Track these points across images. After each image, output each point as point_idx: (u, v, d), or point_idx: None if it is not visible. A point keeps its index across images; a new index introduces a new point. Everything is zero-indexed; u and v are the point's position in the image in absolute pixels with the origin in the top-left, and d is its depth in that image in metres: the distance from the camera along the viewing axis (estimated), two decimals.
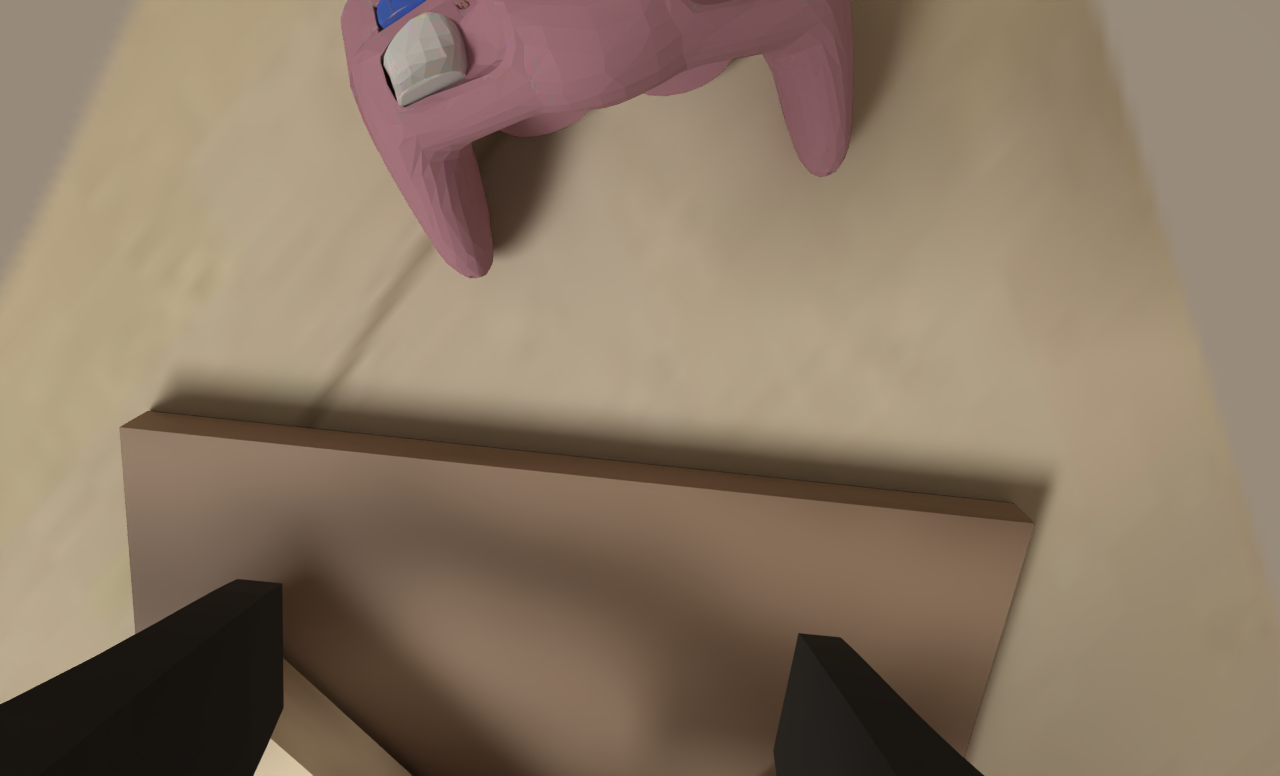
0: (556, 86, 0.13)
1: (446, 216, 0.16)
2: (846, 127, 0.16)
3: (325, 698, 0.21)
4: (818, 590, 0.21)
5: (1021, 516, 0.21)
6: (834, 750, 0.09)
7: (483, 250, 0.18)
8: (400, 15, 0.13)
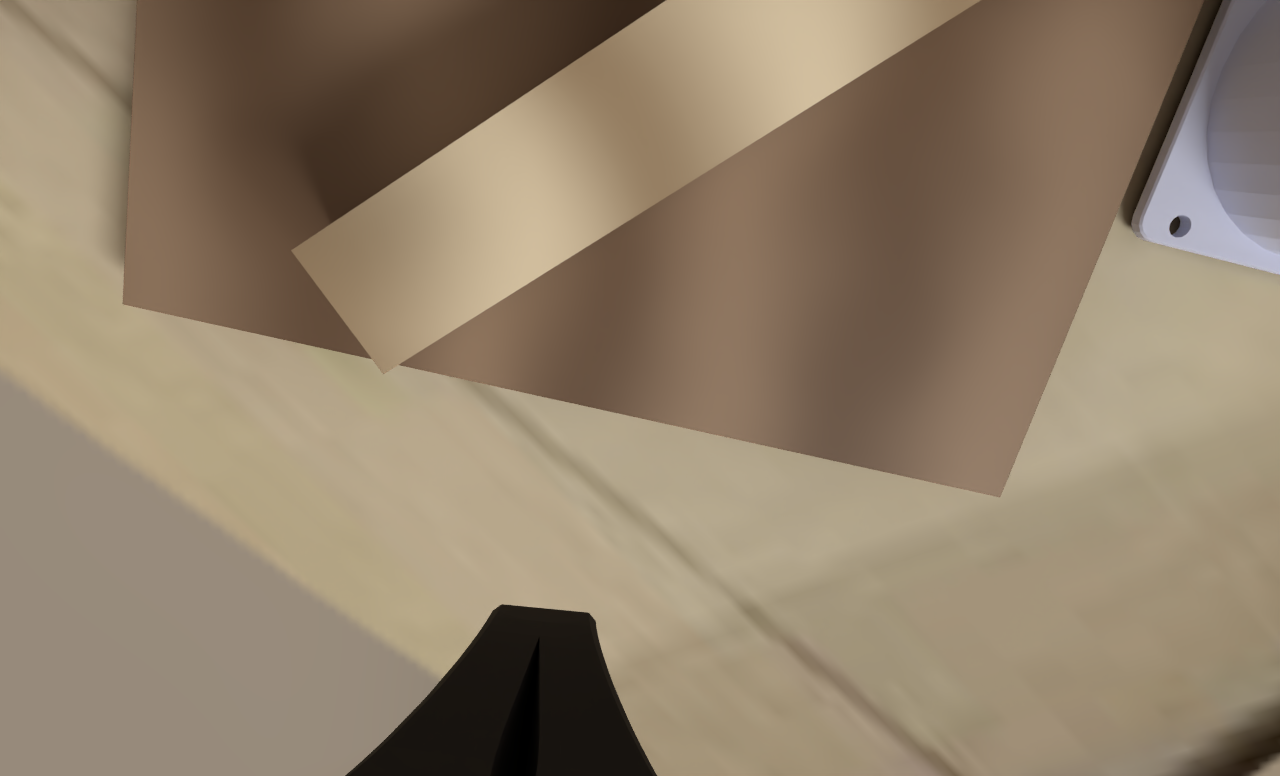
0: None
1: None
2: None
3: None
4: None
5: None
6: (534, 724, 0.09)
7: None
8: None
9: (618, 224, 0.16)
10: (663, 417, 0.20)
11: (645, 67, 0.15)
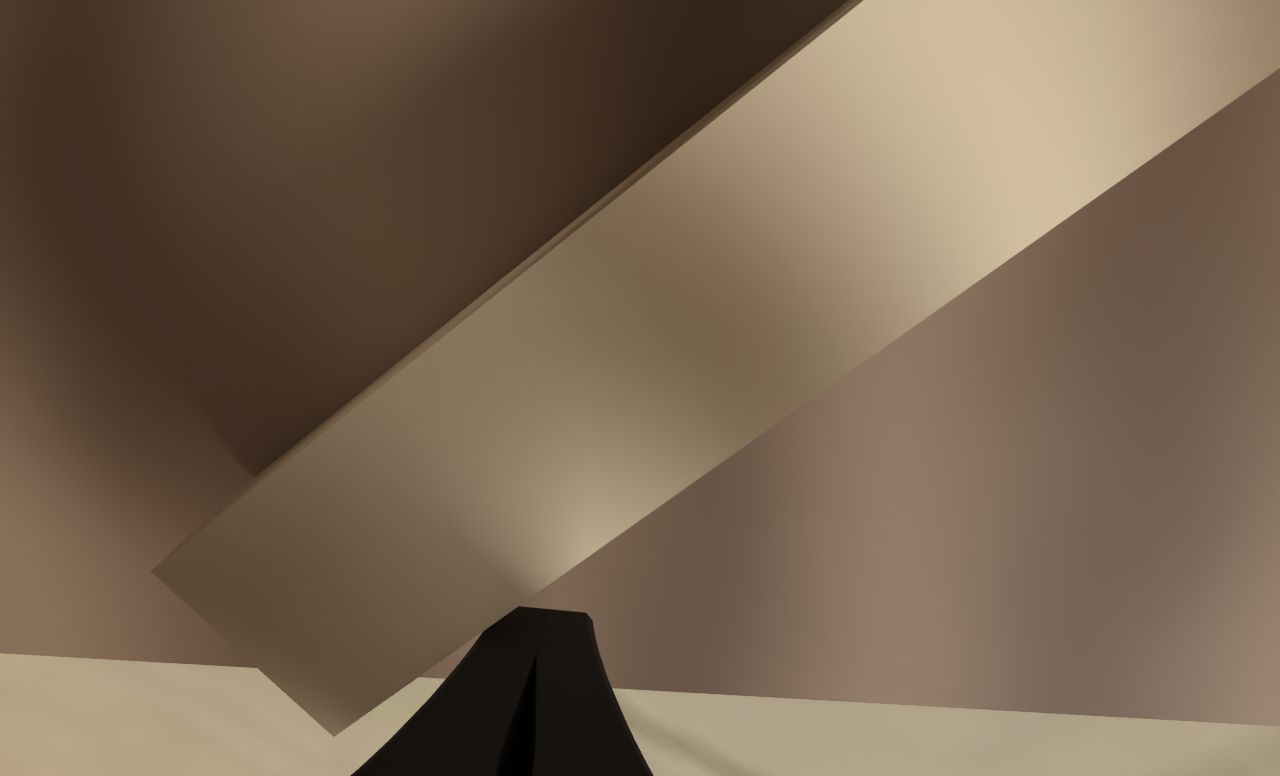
0: None
1: None
2: None
3: (410, 352, 0.11)
4: None
5: None
6: (531, 724, 0.09)
7: None
8: None
9: (701, 471, 0.09)
10: (810, 691, 0.13)
11: (728, 206, 0.08)
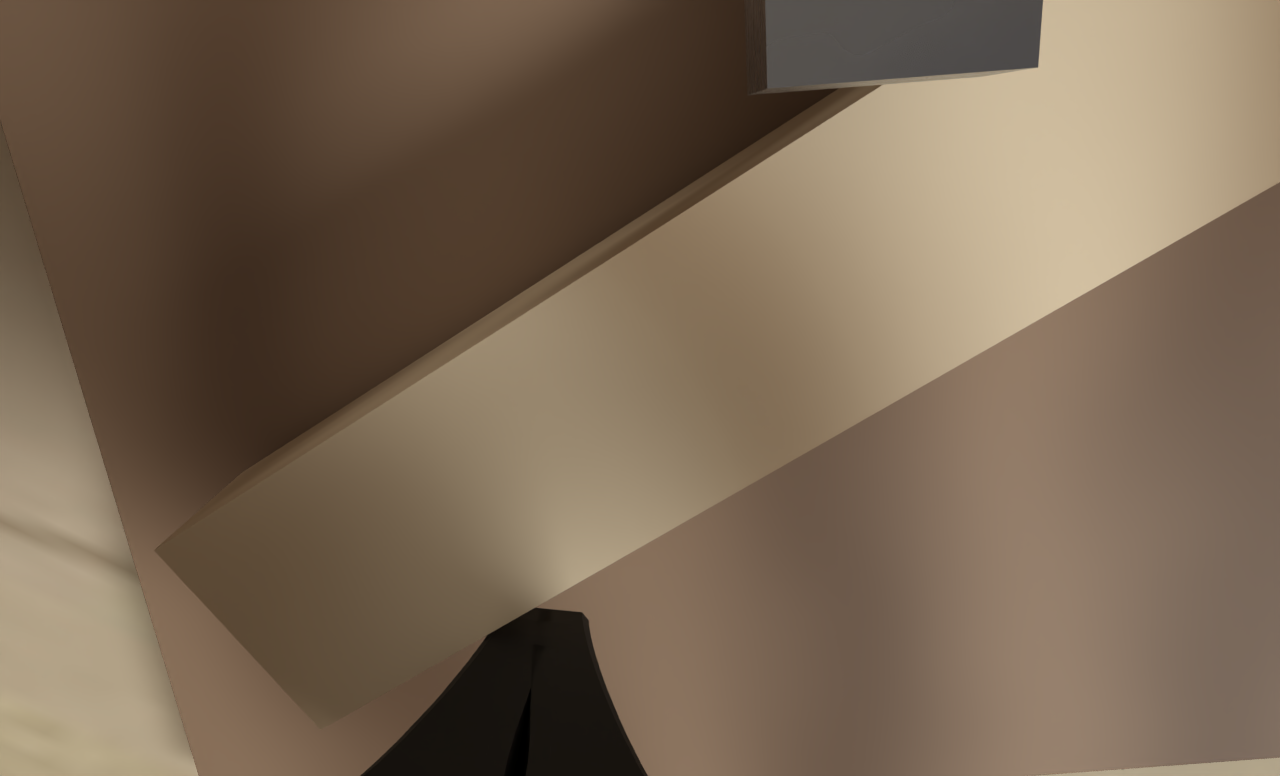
0: None
1: None
2: None
3: (431, 351, 0.11)
4: None
5: None
6: None
7: None
8: None
9: (717, 499, 0.09)
10: (970, 772, 0.14)
11: (771, 244, 0.08)
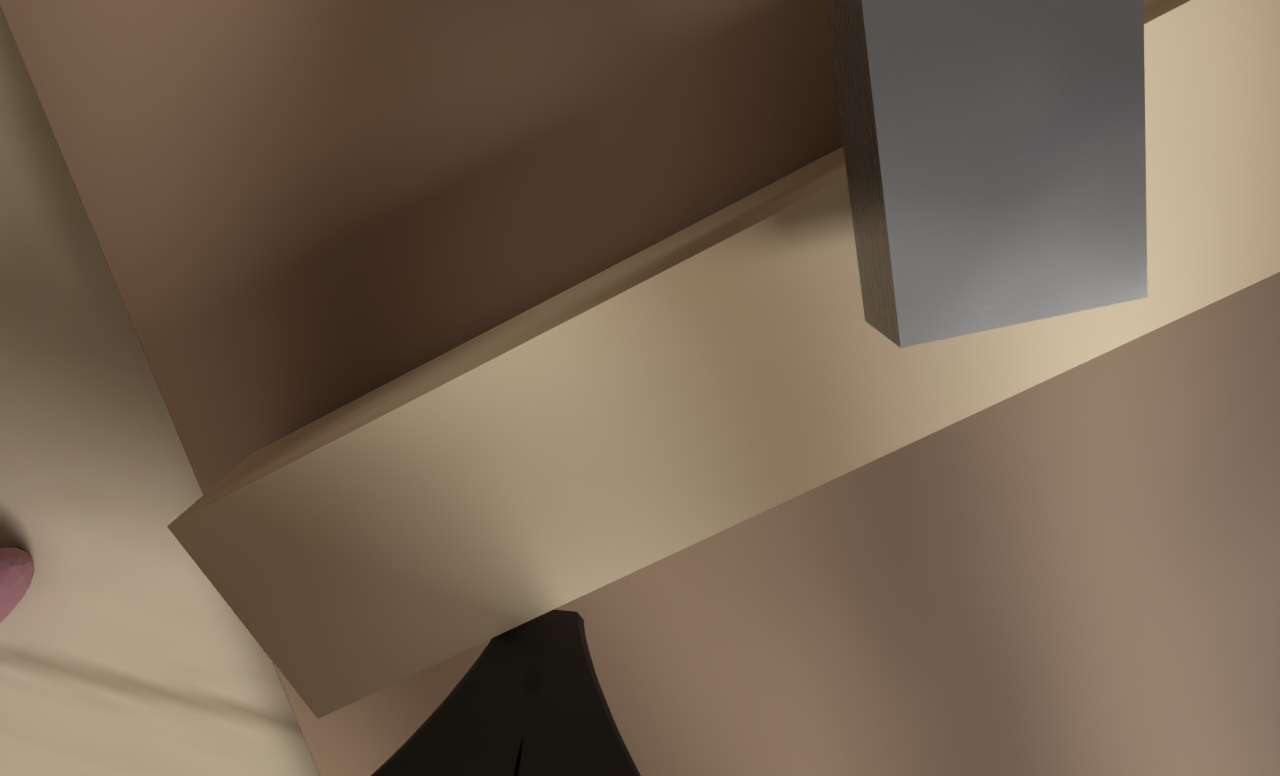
0: None
1: None
2: None
3: (458, 346, 0.11)
4: None
5: None
6: None
7: None
8: None
9: (737, 519, 0.09)
10: None
11: (817, 274, 0.08)
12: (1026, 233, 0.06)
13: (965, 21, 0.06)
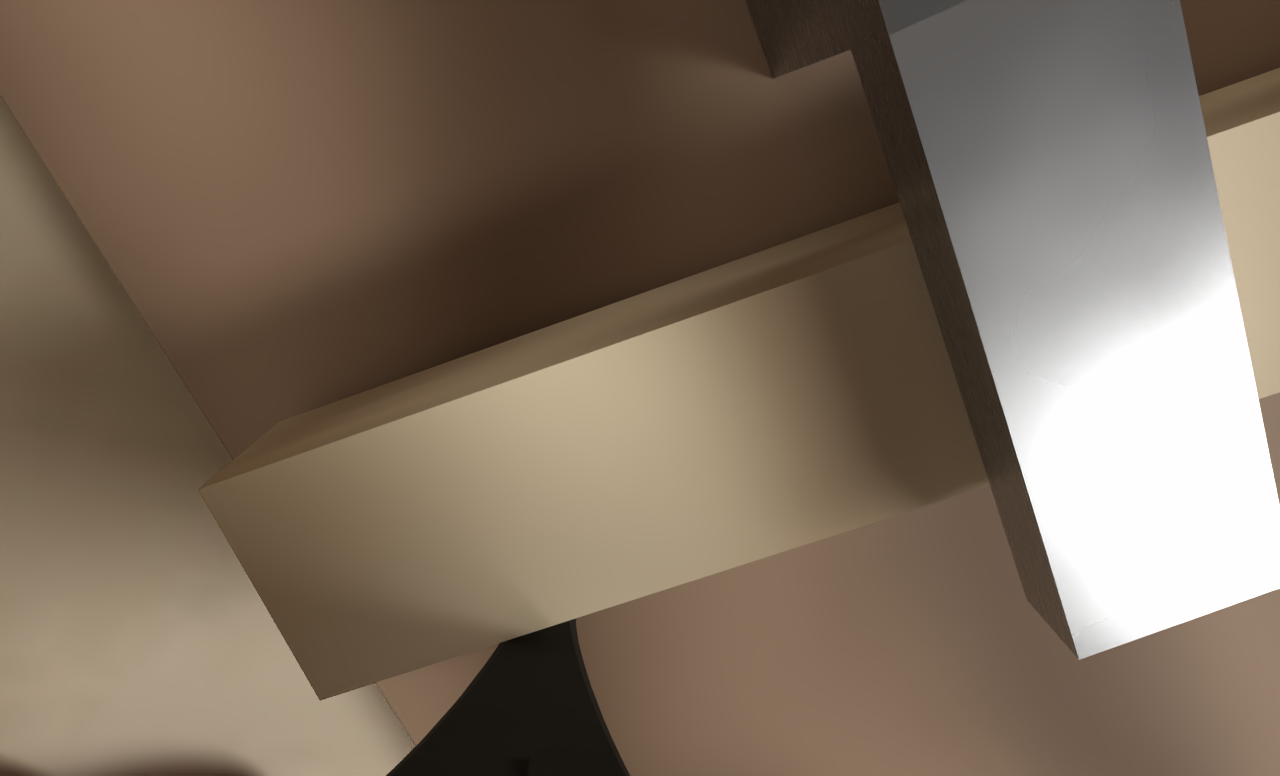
0: None
1: None
2: None
3: (504, 343, 0.11)
4: (297, 225, 0.11)
5: None
6: None
7: None
8: None
9: (771, 551, 0.09)
10: None
11: (888, 322, 0.08)
12: (1177, 555, 0.07)
13: (1095, 413, 0.07)
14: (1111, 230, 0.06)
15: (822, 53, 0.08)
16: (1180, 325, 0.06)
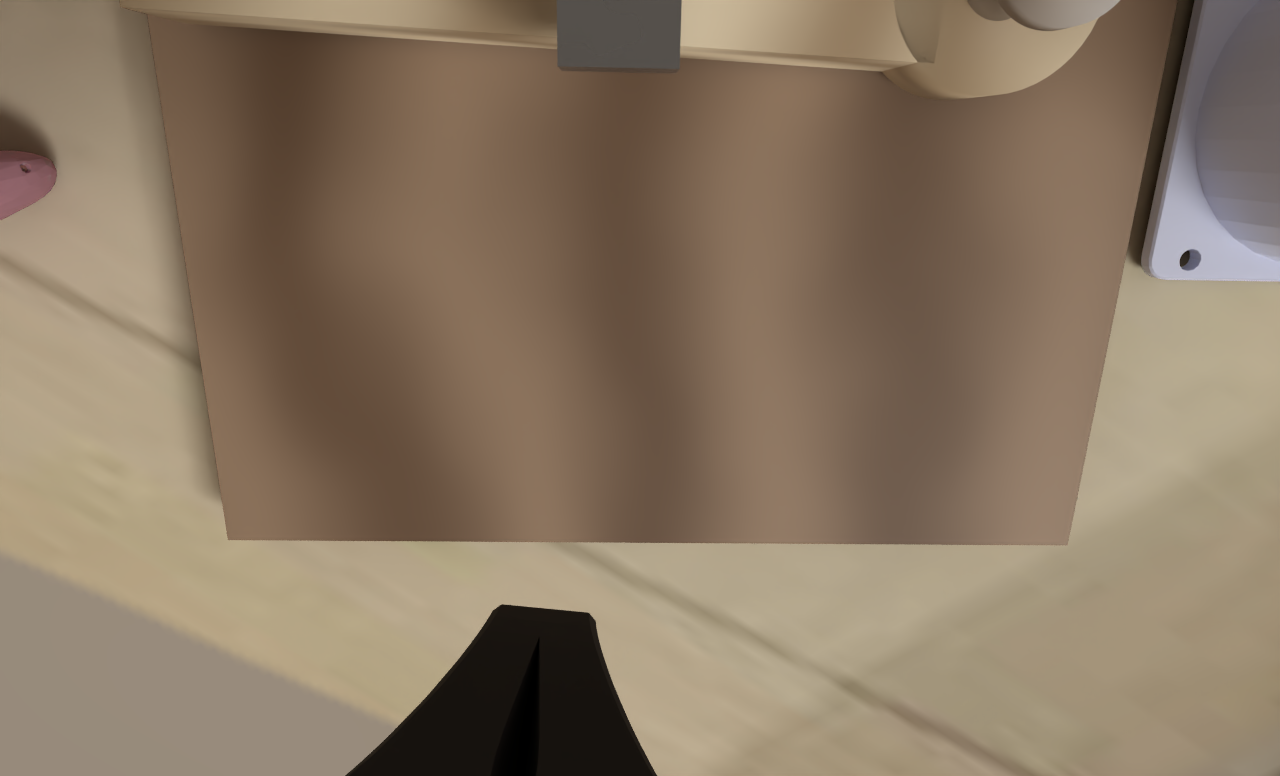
0: None
1: None
2: None
3: None
4: None
5: None
6: (534, 724, 0.09)
7: None
8: None
9: (442, 26, 0.15)
10: (729, 537, 0.21)
11: None
12: (623, 19, 0.13)
13: None
14: None
15: None
16: None
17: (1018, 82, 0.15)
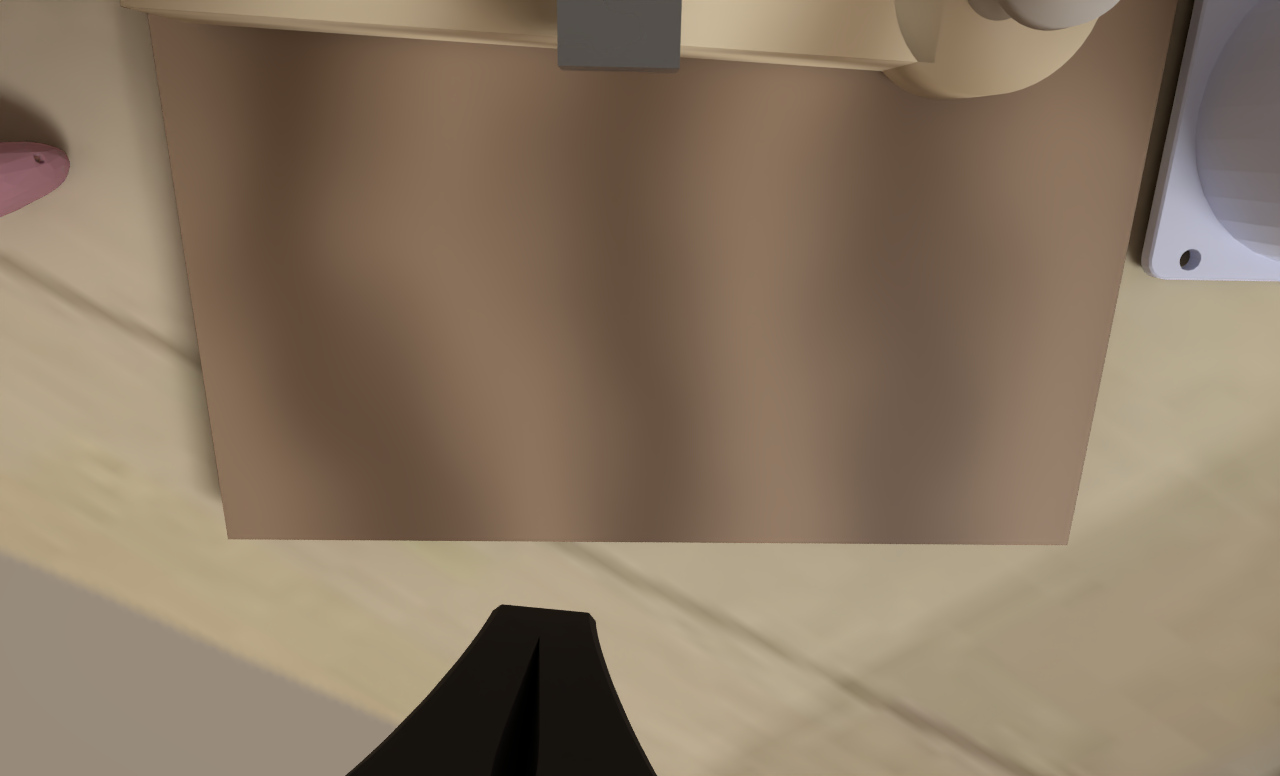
0: None
1: None
2: None
3: None
4: None
5: None
6: (533, 724, 0.09)
7: None
8: None
9: (442, 25, 0.15)
10: (729, 537, 0.21)
11: None
12: (623, 19, 0.13)
13: None
14: None
15: None
16: None
17: (1018, 82, 0.15)
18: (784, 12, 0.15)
